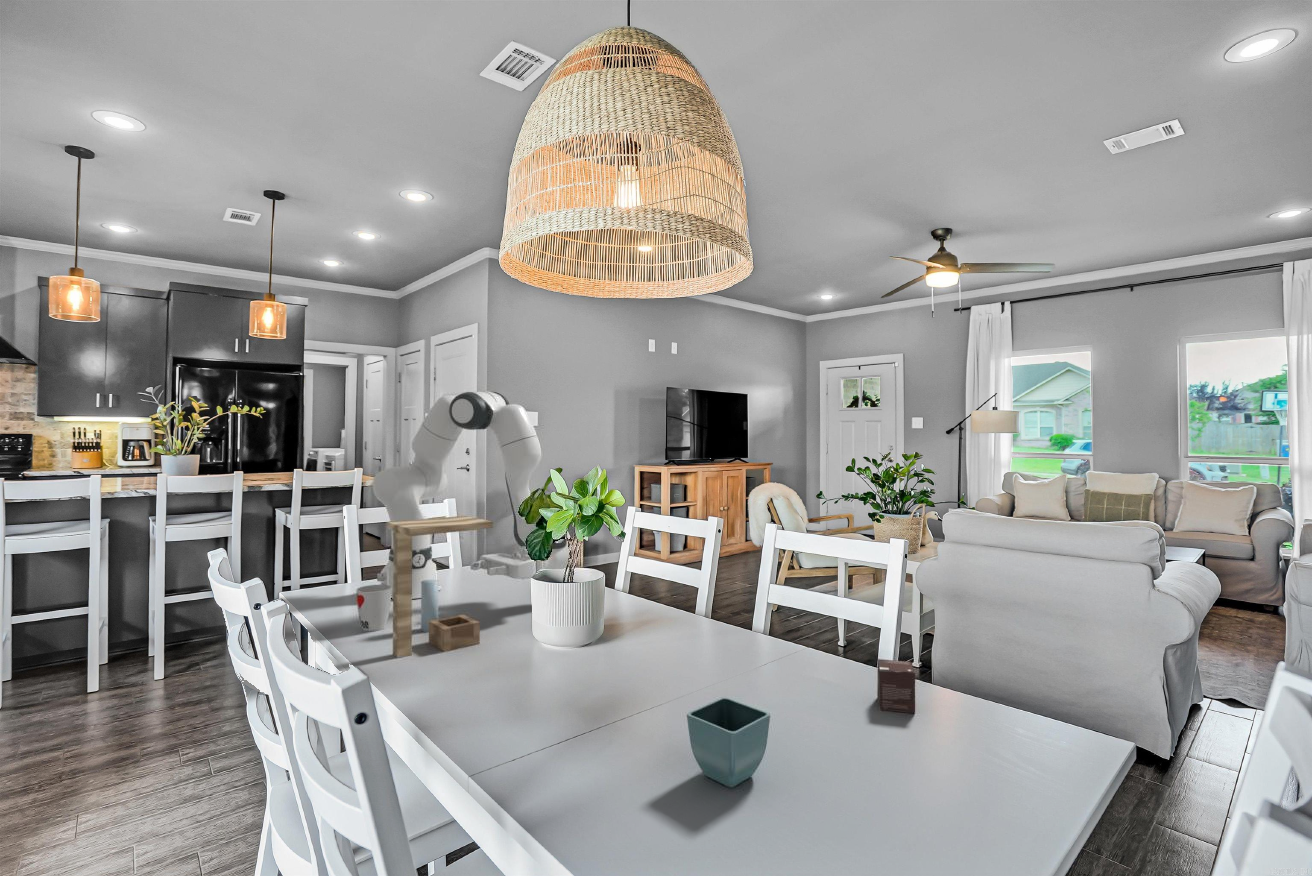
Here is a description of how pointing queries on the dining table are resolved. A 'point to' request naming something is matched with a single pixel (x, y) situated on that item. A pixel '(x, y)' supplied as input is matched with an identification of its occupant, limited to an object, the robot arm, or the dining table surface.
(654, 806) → the dining table surface
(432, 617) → the peg
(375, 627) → the cup
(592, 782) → the dining table surface
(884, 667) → the box
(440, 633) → the socket block
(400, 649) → the wooden l-shaped post
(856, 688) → the dining table surface
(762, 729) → the flower pot
